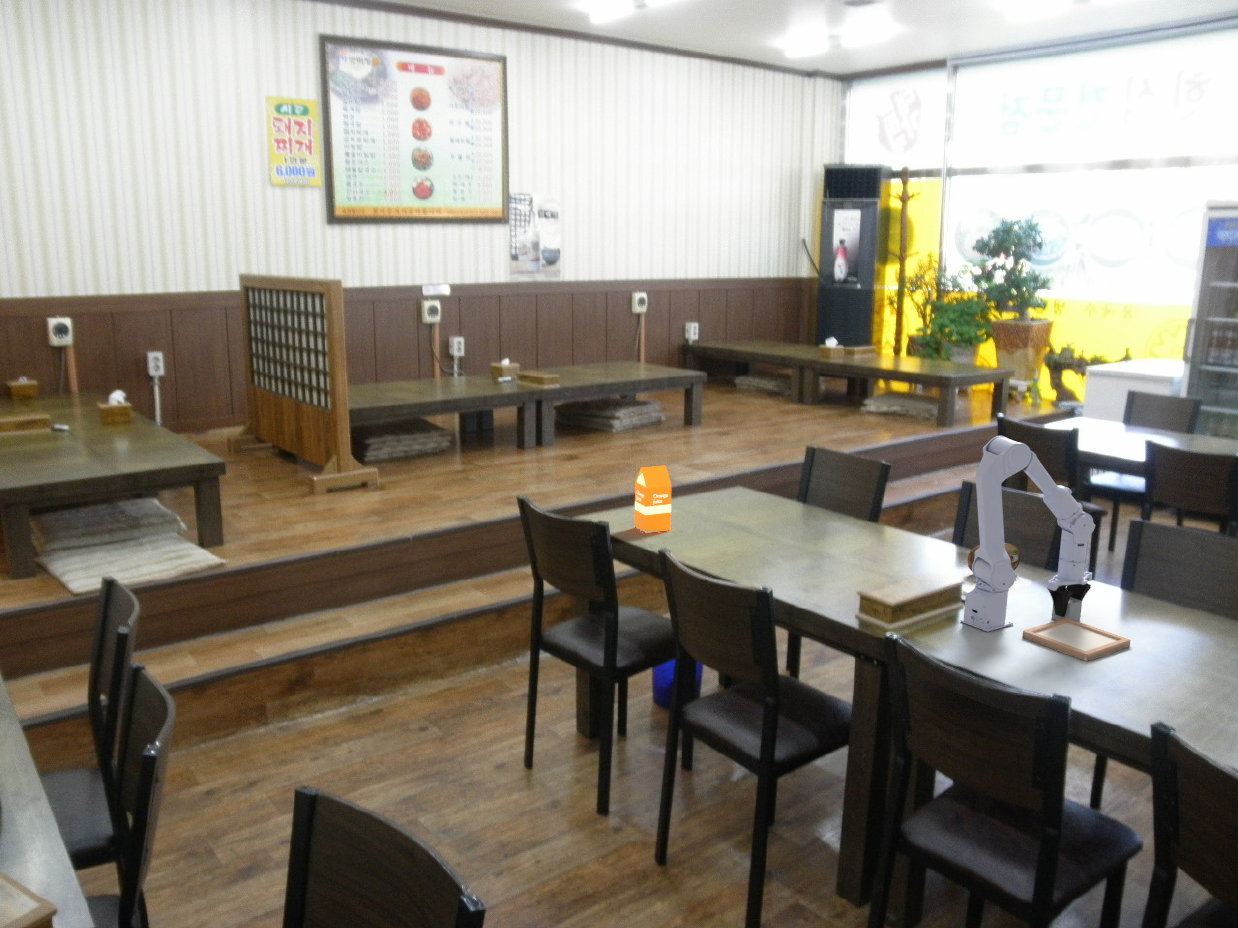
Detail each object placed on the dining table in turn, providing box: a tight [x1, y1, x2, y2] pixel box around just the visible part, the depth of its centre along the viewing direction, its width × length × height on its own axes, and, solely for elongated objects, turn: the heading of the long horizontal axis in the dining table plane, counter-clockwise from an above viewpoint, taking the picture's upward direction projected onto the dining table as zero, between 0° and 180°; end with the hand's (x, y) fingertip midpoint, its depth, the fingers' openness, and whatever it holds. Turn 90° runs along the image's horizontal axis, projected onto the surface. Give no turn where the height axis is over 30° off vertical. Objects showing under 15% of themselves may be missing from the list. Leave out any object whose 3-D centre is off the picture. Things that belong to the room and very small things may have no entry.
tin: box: [967, 542, 1021, 572], centre depth 279 cm, size 15×3×8 cm, turn 105°
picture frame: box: [1022, 618, 1131, 662], centre depth 232 cm, size 16×16×2 cm
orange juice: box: [634, 465, 672, 532], centre depth 317 cm, size 8×9×20 cm
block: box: [1051, 597, 1083, 622], centre depth 246 cm, size 4×4×5 cm
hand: (1066, 613), depth 246 cm, fingers closed on block, 4 cm apart
